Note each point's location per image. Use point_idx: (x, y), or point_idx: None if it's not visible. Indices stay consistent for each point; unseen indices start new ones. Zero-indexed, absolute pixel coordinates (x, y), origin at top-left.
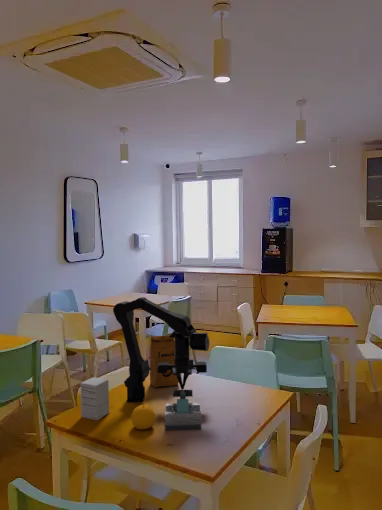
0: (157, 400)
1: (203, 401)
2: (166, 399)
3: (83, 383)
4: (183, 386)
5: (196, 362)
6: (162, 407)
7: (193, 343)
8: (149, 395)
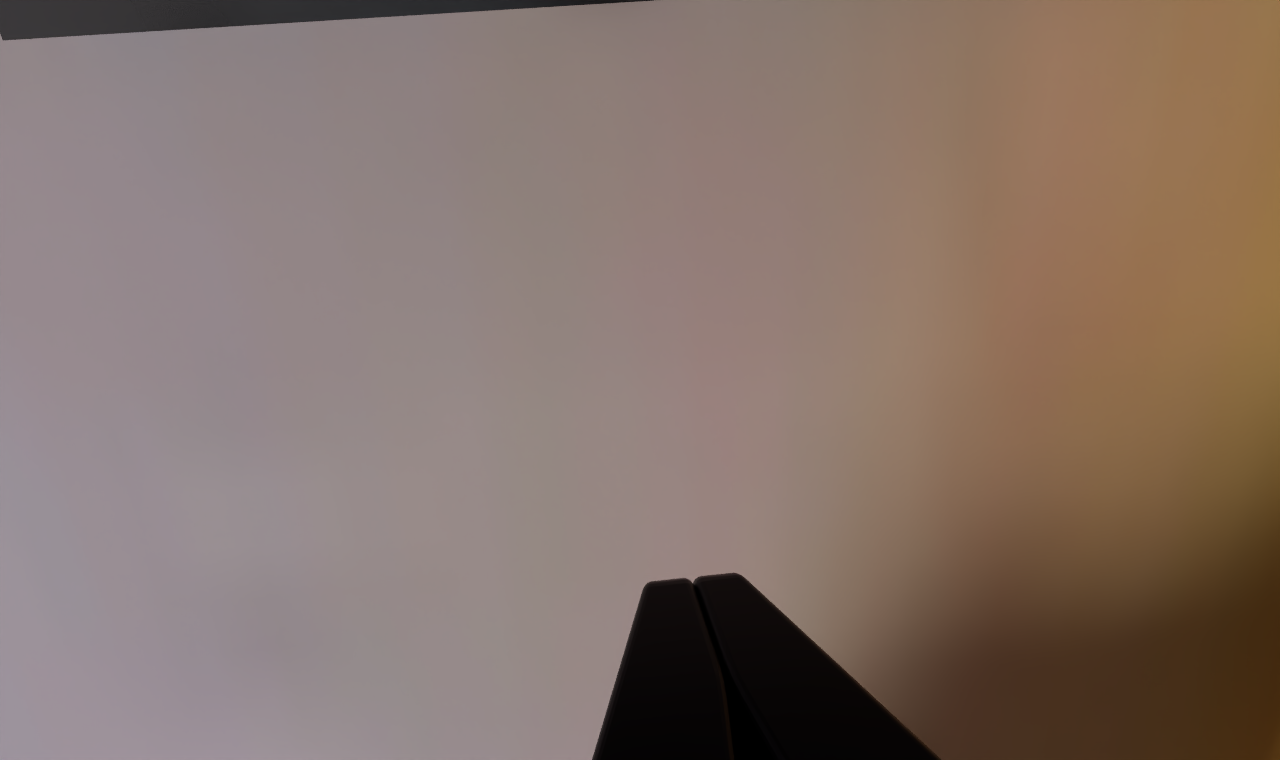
0: (1176, 515)
1: (89, 540)
2: (984, 576)
3: None
4: (666, 672)
5: None
6: (1150, 112)
7: None
8: (1267, 711)
